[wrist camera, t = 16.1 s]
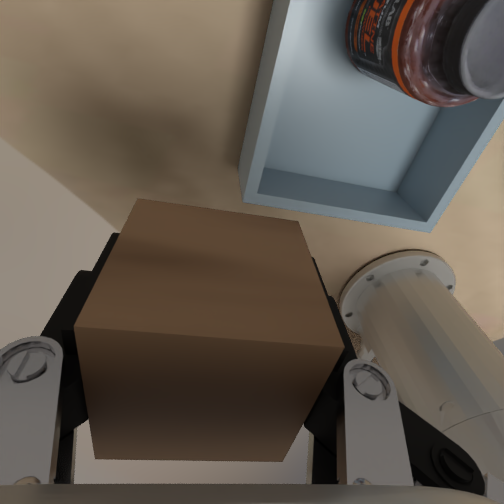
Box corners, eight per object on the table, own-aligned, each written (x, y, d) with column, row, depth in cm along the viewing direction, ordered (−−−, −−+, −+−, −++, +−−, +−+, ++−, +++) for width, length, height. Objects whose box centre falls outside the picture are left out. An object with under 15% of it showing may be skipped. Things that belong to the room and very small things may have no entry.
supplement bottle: (360, -48, 18) (499, -102, 9) (452, -25, 19) (657, -55, 10) (329, 70, 22) (409, 113, 13) (409, 84, 23) (534, 133, 14)
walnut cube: (264, 326, 13) (282, 461, 9) (138, 316, 12) (95, 459, 8) (298, 221, 10) (344, 346, 6) (137, 198, 10) (73, 326, 6)
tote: (396, 197, 29) (430, 232, 25) (237, 168, 26) (242, 202, 22) (535, -65, 19) (637, -88, 15) (307, -160, 16) (344, -228, 12)
